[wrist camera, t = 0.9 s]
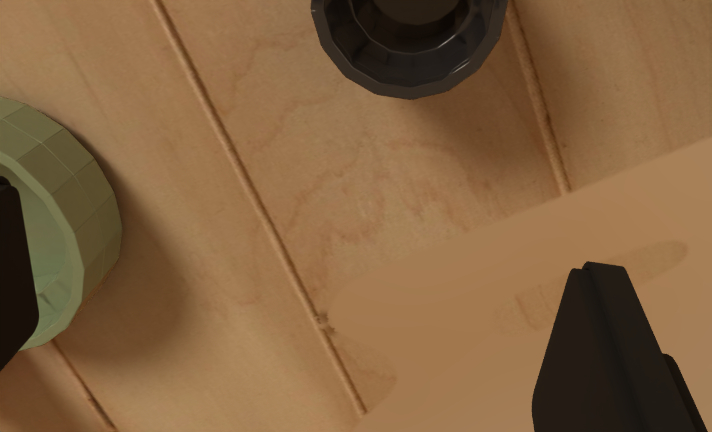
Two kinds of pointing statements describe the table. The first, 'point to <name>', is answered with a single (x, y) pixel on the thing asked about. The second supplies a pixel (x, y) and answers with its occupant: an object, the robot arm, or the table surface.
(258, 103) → the table surface
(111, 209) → the big bowl
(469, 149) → the table surface
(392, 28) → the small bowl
